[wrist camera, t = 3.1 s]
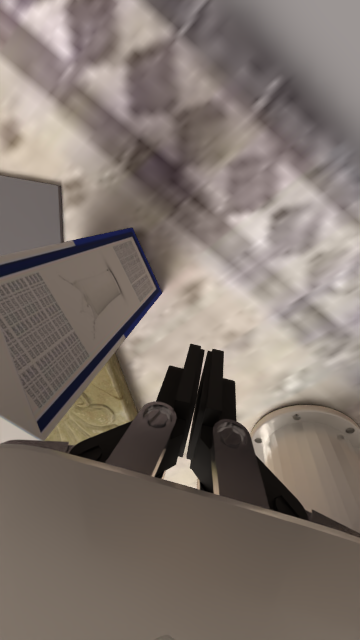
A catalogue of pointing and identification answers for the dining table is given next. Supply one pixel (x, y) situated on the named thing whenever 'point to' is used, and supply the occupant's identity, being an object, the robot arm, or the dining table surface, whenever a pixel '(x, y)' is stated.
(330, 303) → the dining table surface
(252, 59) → the dining table surface
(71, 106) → the dining table surface
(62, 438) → the decorative tile
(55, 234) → the mat
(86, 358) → the milk carton
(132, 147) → the dining table surface
